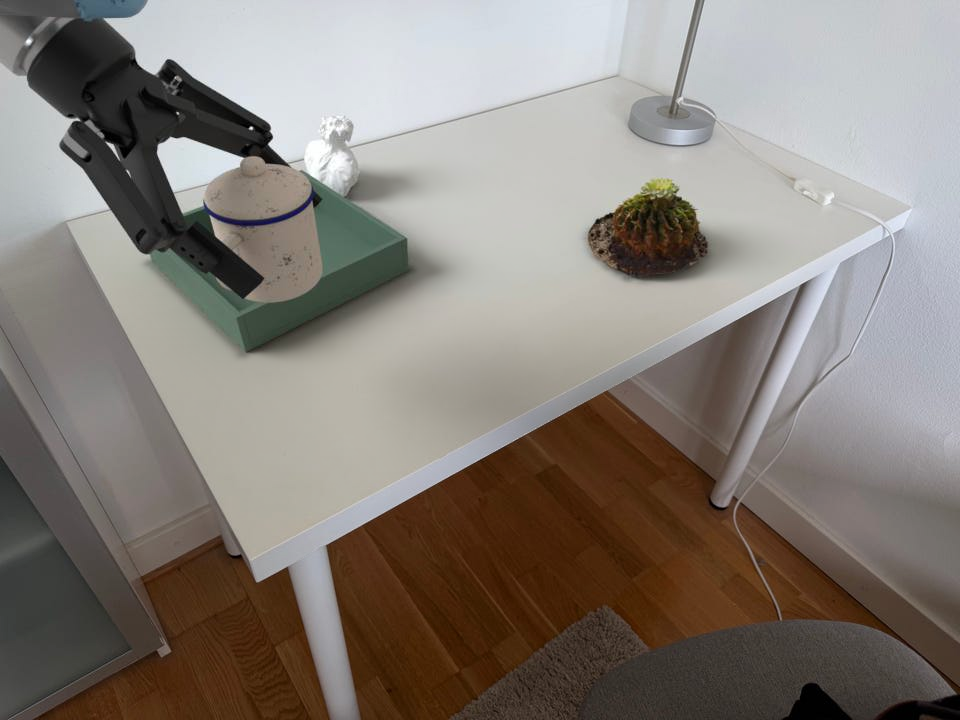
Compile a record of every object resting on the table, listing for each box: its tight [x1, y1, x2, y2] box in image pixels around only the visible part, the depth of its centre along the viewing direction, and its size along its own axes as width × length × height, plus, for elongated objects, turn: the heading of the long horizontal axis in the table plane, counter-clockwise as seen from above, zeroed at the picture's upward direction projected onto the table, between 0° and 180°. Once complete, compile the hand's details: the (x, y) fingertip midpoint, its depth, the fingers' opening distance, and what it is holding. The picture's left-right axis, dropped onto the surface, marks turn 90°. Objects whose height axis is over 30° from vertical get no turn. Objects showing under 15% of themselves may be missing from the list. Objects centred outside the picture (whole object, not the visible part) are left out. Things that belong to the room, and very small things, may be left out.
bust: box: [304, 114, 361, 197], centre depth 102 cm, size 12×8×11 cm
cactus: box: [587, 177, 709, 277], centre depth 92 cm, size 17×16×10 cm
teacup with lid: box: [202, 156, 323, 303], centre depth 59 cm, size 12×9×12 cm
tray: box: [149, 169, 410, 353], centre depth 87 cm, size 24×24×5 cm
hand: (285, 246), depth 60 cm, fingers closed on teacup with lid, 12 cm apart
